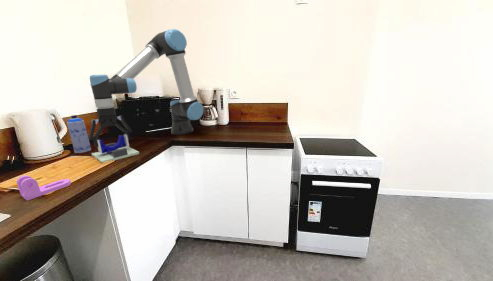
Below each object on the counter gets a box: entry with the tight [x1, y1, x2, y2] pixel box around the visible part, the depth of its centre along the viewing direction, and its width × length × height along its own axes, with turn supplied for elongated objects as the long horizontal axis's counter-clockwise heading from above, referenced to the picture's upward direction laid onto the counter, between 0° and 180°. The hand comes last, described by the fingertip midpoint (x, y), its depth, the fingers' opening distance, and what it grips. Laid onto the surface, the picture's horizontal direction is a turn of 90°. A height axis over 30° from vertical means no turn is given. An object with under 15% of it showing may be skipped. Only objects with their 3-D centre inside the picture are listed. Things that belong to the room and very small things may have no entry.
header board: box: [91, 142, 140, 163], centre depth 112 cm, size 17×18×4 cm
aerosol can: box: [66, 114, 92, 154], centre depth 120 cm, size 8×8×20 cm
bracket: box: [16, 175, 72, 201], centre depth 77 cm, size 13×6×7 cm, turn 149°
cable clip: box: [98, 134, 126, 153], centre depth 113 cm, size 12×4×6 cm, turn 142°
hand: (114, 149), depth 112 cm, fingers closed on cable clip, 12 cm apart
